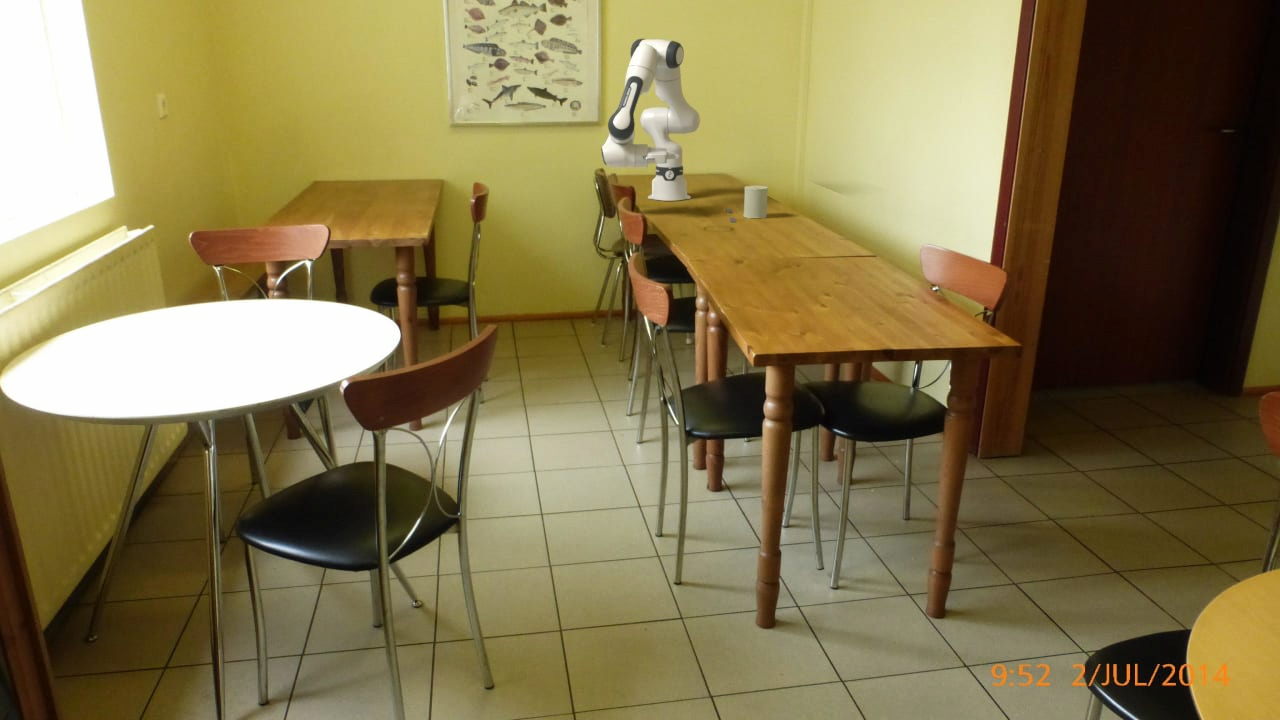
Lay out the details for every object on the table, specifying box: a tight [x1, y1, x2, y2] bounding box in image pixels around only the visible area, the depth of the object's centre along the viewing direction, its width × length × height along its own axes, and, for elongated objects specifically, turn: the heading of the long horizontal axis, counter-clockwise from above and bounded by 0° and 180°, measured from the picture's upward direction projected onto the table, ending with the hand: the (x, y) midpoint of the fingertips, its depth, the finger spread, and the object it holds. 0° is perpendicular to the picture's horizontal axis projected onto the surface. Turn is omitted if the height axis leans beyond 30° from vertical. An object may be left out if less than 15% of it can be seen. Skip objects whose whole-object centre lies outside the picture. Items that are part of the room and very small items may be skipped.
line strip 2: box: [729, 217, 737, 223], centre depth 360 cm, size 8×2×1 cm, turn 179°
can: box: [743, 185, 769, 219], centre depth 366 cm, size 9×9×12 cm
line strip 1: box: [725, 208, 733, 214], centre depth 380 cm, size 8×2×1 cm, turn 179°
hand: (678, 155), depth 363 cm, fingers closed
